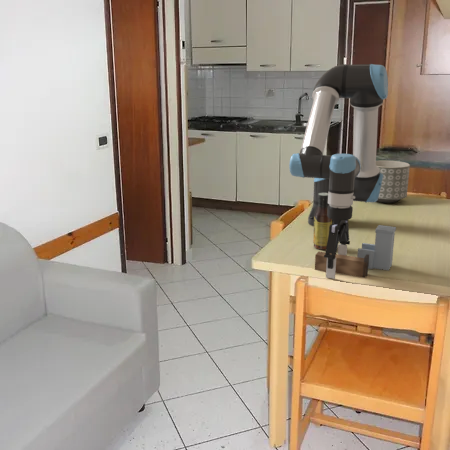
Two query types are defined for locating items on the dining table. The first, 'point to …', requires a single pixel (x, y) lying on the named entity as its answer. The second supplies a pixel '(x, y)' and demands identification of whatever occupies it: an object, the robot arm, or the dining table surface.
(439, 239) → the dining table surface
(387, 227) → the grey notched block
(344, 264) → the rail
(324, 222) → the sauce bottle
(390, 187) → the planter
